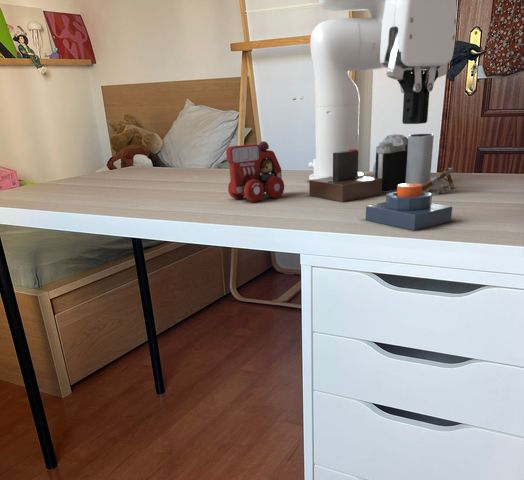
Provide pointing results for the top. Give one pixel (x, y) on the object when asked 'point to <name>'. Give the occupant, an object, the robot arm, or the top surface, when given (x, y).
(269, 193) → the toy fire truck
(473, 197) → the top surface
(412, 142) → the grey hollow tube
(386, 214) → the button box
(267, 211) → the top surface
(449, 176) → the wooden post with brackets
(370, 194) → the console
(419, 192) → the button
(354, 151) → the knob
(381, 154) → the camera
